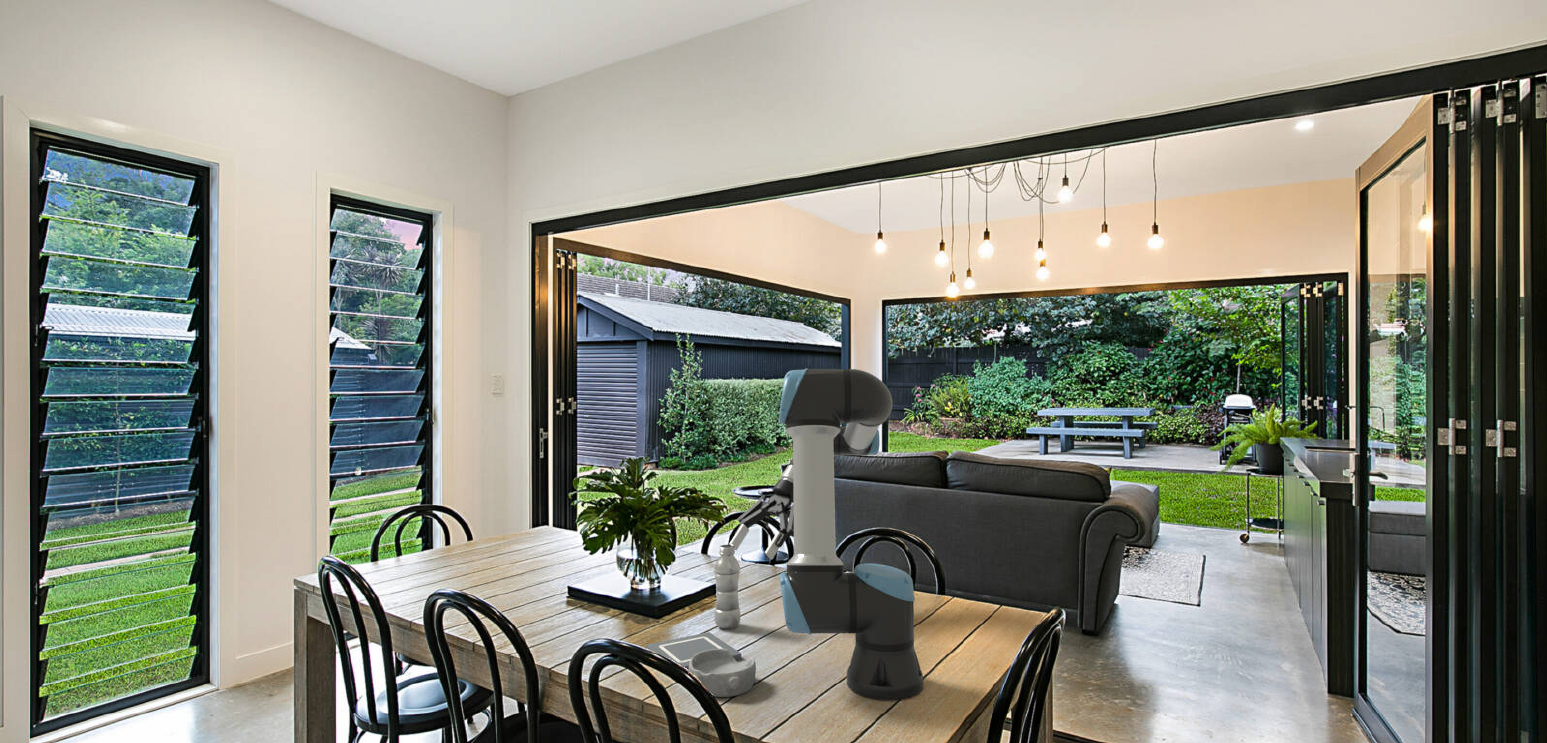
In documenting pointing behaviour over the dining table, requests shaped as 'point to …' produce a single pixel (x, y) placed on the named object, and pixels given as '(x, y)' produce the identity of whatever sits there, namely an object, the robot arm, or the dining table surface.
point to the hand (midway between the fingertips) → (750, 551)
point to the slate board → (690, 647)
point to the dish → (722, 672)
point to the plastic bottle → (727, 588)
